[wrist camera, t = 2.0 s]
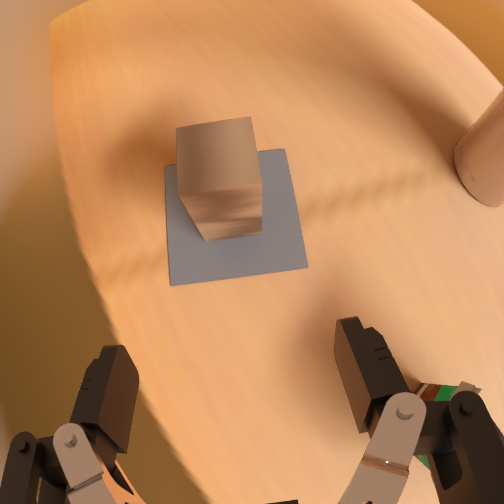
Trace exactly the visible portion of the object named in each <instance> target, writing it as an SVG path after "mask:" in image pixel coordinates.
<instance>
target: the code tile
mask: <svg viewBox="0 0 504 504" xmlns="http://www.w3.org/2000/svg"><path fill="white" fill-rule="evenodd" d="M257 155H258V161H259V167H260V173H261V178H262V234H260V235H253V236H246V237H238V238H231V239H224V240H217V241H210V242H206V241H205V240H204V238H203V236H202V235H201V233H200V231H199V230H198V228H197V226H196V225H195V223H194V221H193V219H192V218H191V216H190V214H189V213H188V211H187V209H186V207H185V206H184V204H183V202H182V200H181V199H180V197H179V195H178V185H177V164H176V165H170V166H165V185H166V216H167V237H168V254H169V268H170V281H171V286H177V285H185V284H193V283H201V282H208V281H216V280H224V279H231V278H239V277H246V276H253V275H261V274H268V273H275V272H282V271H289V270H296V269H303V268H308V263H307V258H306V252H305V247H304V241H303V236H302V230H301V225H300V220H299V215H298V210H297V205H296V200H295V195H294V190H293V185H292V180H291V175H290V171H289V166H288V161H287V157H286V152H285V149H280V150H270V151H262V152H257Z"/></svg>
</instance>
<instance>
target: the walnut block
mask: <svg viewBox="0 0 504 504" xmlns="http://www.w3.org/2000/svg"><path fill="white" fill-rule="evenodd" d="M176 153H177V185H178V195H179V197H180V199H181V200H182V202H183V204H184V206H185V207H186V209H187V211H188V213H189V214H190V216H191V218H192V219H193V221H194V223H195V225H196V226H197V228H198V230H199V231H200V233H201V235H202V236H203V238H204V240H205V241H206V242H210V241H217V240H224V239H231V238H238V237H246V236H253V235H260V234H262V178H261V173H260V167H259V161H258V155H257V149H256V143H255V138H254V132H253V126H252V121H251V117H244V118H237V119H229V120H222V121H216V122H209V123H203V124H197V125H192V126H186V127H181V128H176Z"/></svg>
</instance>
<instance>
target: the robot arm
mask: <svg viewBox="0 0 504 504" xmlns="http://www.w3.org/2000/svg"><path fill="white" fill-rule="evenodd" d="M454 164H455V168H456V171H457V173H458V175H459V178H460V180H461V181H462V183H463V185H464V186H465V188H466V189H467V190H468V191H469V193H470V194H471V195H472V196H473V197H475V198H476V199H477V200H478V201H480V202H481V203H483V204H485V205H487V206H492V207H496V206H500V205H502V204H503V203H504V88H503V90H502V91H501V92H500V93H499V95H498V96H497V97H496V98H495V100H494V101H493V102H492V103H491V105H490V106H489V107H488V108H487V109H486V111H485V112H484V113H483V114H482V115H481V117H480V118H479V119H478V120H477V121H476V123H475V124H474V125H473V126H472V127H471V128H470V130H469V131H468V132H467V133H466V134H465V135H464V136H463V138H462V139H461V140H460V141H459V142H458V144H457V145H456V146H455V149H454ZM334 353H335V359H336V363H337V366H338V369H339V372H340V375H341V378H342V381H343V384H344V387H345V390H346V393H347V396H348V399H349V402H350V405H351V409H352V412H353V415H354V418H355V421H356V424H357V427H358V431H359V434H360V433H364V432H367V431H368V433H369V436H370V439H371V440H370V442H369V444H368V447H367V449H366V451H365V453H364V455H363V457H362V459H361V461H360V463H359V465H358V467H357V469H356V471H355V473H354V475H353V477H352V479H351V481H350V483H349V485H348V487H347V489H346V490H345V492H344V494H343V496H342V497H341V499H340V501H339V503H338V504H397V502H398V500H399V498H400V496H401V493H402V491H403V488H404V486H405V484H406V481H407V478H408V475H409V470H408V468H409V464H410V462H411V459H412V456H413V455H426V457H427V460H428V463H429V467H430V470H431V473H432V477H433V480H434V484H435V487H436V491H437V494H438V498H439V502H440V504H504V446H503V444H502V442H501V439H500V437H499V435H498V432H497V430H496V428H495V426H494V423H493V421H492V419H491V417H490V415H489V412H488V410H487V408H486V406H485V404H484V402H483V400H482V398H481V397H480V396H479V395H478V394H476V393H474V392H472V391H460V392H458V393H456V394H455V395H454V396H453V397H452V398H451V400H450V401H425V400H422V399H421V398H420V397H418V396H417V395H415V394H413V393H411V391H410V390H409V388H408V386H407V384H406V382H405V380H404V378H403V376H402V374H401V372H400V370H399V368H398V366H397V364H396V362H395V360H394V358H393V357H392V354H391V352H390V350H389V349H388V346H387V344H386V342H385V340H384V338H383V336H382V335H381V334H380V333H379V332H378V331H376V330H375V329H374V328H373V327H370V328H366V329H364V328H363V326H362V324H361V322H360V320H359V318H358V317H357V316H354V317H349V318H344V319H339V320H337V322H336V332H335V344H334ZM138 387H139V374H138V371H137V368H136V367H135V365H134V363H133V361H132V359H131V358H130V356H129V354H128V352H127V350H126V348H125V347H124V346H123V345H105V346H104V347H103V348H102V350H101V354H100V356H99V359H94V360H93V361H92V363H91V364H90V365H89V367H88V368H87V369H86V372H85V375H84V379H83V382H82V384H81V387H80V389H81V390H79V393H78V396H77V399H76V403H75V406H74V409H73V412H72V416H71V419H70V422H69V423H68V424H65V425H63V426H61V427H60V428H59V429H58V430H57V431H56V433H55V435H54V436H50V437H45V438H40V439H37V438H36V437H35V436H33V435H32V434H31V433H29V432H21V433H19V434H17V435H16V436H15V437H14V438H13V440H12V442H11V445H10V449H9V452H8V457H7V460H6V464H5V469H4V473H3V477H2V482H1V487H0V504H37V502H36V495H37V489H38V483H39V477H40V478H42V481H41V487H40V493H39V500H38V504H146V503H145V502H144V501H143V500H142V499H141V498H140V497H139V495H138V494H137V492H136V491H135V489H134V488H133V487H132V485H131V483H130V482H129V480H128V479H127V477H126V476H125V474H124V472H123V471H122V469H121V467H120V466H119V464H118V463H117V461H116V453H124V454H127V448H128V442H129V436H130V430H131V424H132V419H133V413H134V408H135V402H136V397H137V392H138ZM268 504H298V500H291V501H284V502H276V503H268Z"/></svg>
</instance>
